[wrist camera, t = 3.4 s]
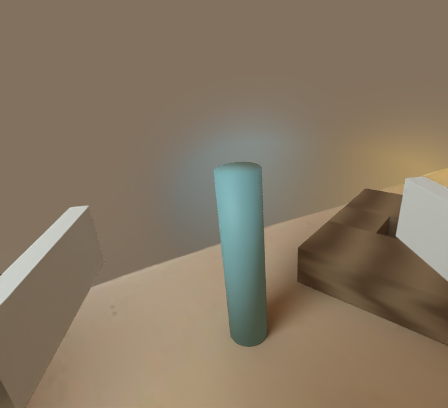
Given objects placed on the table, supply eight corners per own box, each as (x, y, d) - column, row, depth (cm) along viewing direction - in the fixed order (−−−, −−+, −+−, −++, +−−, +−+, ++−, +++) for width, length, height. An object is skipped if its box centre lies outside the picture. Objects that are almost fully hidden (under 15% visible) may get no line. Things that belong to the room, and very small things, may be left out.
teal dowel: (274, 328, 29) (271, 165, 22) (252, 353, 26) (240, 180, 20) (245, 312, 31) (234, 159, 25) (222, 333, 29) (203, 172, 22)
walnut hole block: (496, 246, 37) (507, 213, 36) (475, 357, 24) (490, 314, 23) (362, 215, 48) (365, 188, 46) (297, 281, 35) (297, 247, 33)
